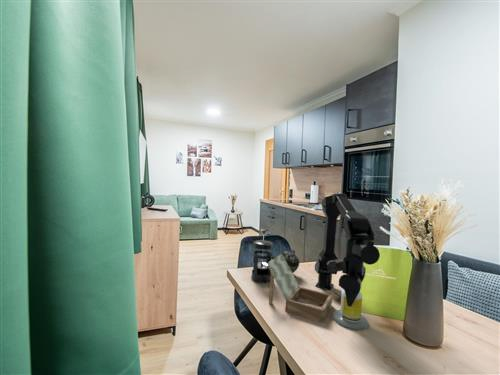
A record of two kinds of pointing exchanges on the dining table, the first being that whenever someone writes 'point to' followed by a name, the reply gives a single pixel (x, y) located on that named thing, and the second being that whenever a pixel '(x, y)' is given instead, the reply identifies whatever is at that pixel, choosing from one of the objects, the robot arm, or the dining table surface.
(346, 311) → the pill bottle
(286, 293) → the cold frame
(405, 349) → the dining table surface
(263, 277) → the french press
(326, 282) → the robot arm
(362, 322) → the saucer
